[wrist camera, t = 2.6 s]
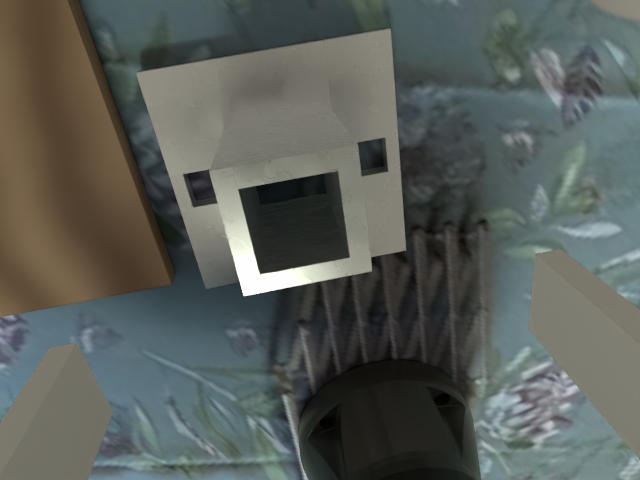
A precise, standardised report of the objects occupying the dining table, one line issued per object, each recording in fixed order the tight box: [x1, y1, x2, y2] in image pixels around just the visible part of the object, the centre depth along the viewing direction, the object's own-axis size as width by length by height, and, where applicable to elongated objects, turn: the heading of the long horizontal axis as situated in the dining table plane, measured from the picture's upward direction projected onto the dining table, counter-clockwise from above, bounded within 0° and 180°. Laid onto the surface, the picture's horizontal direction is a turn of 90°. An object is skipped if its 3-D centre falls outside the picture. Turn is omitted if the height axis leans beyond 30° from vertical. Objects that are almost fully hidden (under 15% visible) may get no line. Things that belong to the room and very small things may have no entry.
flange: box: [136, 28, 406, 296], centre depth 24 cm, size 14×14×9 cm
